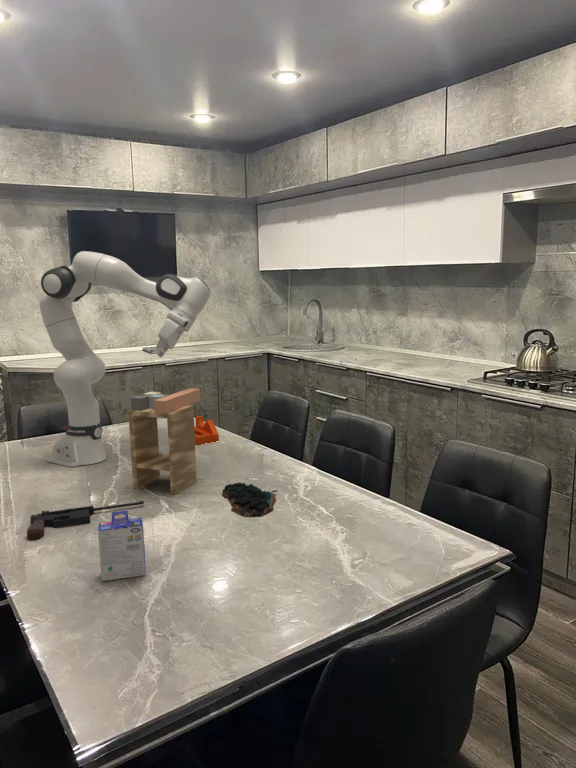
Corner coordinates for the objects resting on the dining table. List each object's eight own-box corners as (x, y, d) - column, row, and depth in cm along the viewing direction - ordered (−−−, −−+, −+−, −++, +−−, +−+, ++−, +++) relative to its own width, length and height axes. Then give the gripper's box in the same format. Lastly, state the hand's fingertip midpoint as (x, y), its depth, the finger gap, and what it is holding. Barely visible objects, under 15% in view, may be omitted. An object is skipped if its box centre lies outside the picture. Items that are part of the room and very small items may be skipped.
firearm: (150, 524, 165) (143, 505, 179) (149, 514, 165) (142, 495, 179) (27, 543, 154) (30, 521, 168) (26, 532, 154) (29, 511, 168)
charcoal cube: (131, 410, 189) (130, 397, 188) (139, 407, 192) (138, 395, 192) (142, 410, 187) (141, 398, 187) (149, 408, 191) (148, 396, 190)
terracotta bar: (154, 413, 184) (153, 400, 183) (190, 399, 204) (190, 388, 203) (165, 413, 182) (164, 401, 182) (200, 400, 203) (200, 388, 202)
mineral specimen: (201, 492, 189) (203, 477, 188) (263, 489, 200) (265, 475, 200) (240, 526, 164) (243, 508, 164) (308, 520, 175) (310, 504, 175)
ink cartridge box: (145, 565, 140) (141, 506, 138) (146, 575, 135) (143, 515, 133) (101, 571, 138) (97, 512, 135) (101, 582, 132) (96, 521, 130)
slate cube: (149, 408, 190) (149, 396, 190) (156, 406, 194) (156, 394, 193) (160, 409, 189) (159, 397, 188) (167, 407, 193) (166, 394, 192)
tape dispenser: (174, 438, 256) (173, 419, 255) (201, 433, 263) (200, 415, 261) (190, 447, 241) (189, 427, 240) (218, 442, 248) (218, 423, 246)
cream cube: (144, 405, 195) (143, 393, 194) (151, 403, 199) (150, 391, 198) (154, 406, 194) (154, 394, 193) (161, 404, 197) (160, 392, 197)
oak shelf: (133, 488, 192) (128, 410, 188) (155, 476, 204) (151, 402, 200) (175, 494, 187) (171, 413, 182) (196, 481, 199) (193, 405, 194)
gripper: (174, 322, 216) (153, 353, 214) (168, 310, 196) (145, 345, 194) (189, 331, 216) (168, 363, 214) (185, 320, 196) (162, 355, 194)
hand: (157, 354), depth 204 cm, fingers open, 8 cm apart
